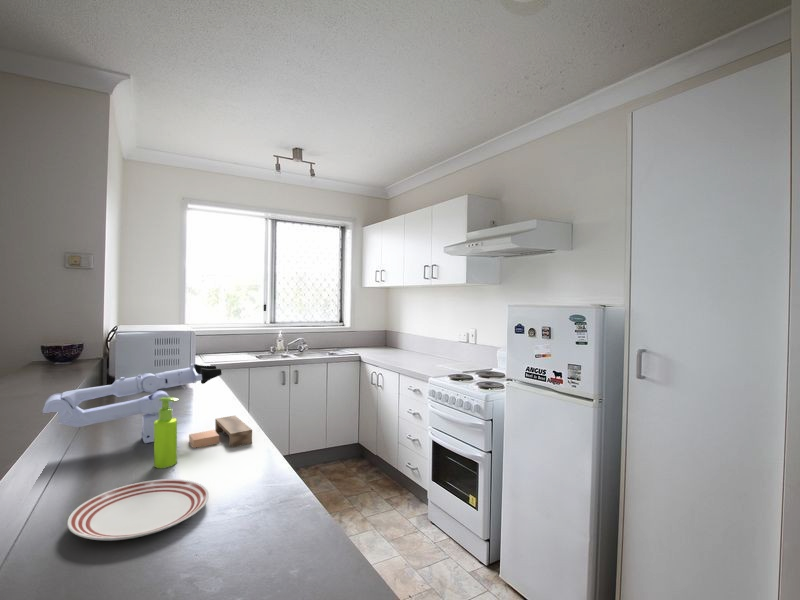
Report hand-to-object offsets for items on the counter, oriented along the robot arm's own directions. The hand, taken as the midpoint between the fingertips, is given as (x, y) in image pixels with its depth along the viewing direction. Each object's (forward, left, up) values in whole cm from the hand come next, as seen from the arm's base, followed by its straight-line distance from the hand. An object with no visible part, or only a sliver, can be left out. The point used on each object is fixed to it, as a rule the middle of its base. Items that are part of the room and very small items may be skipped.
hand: (218, 370), depth 159 cm
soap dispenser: (-21, -27, -22) cm, 41 cm away
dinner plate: (-30, -56, -22) cm, 67 cm away
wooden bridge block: (0, -14, -22) cm, 26 cm away
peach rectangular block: (-8, -14, -22) cm, 27 cm away
